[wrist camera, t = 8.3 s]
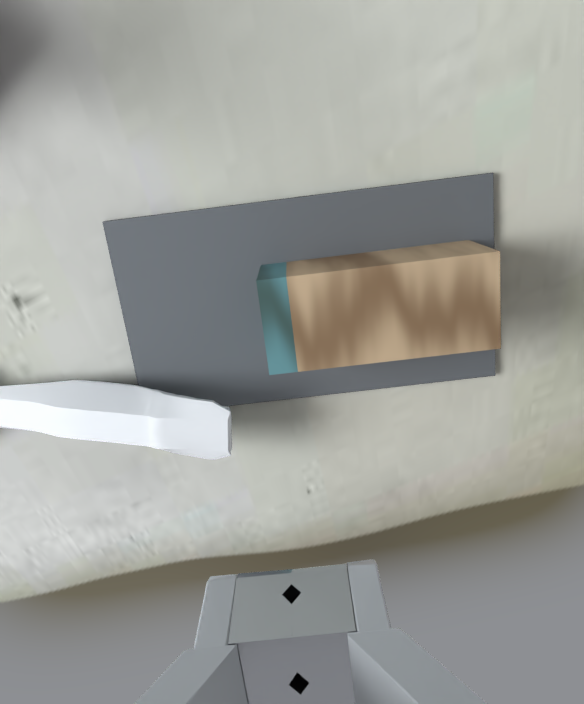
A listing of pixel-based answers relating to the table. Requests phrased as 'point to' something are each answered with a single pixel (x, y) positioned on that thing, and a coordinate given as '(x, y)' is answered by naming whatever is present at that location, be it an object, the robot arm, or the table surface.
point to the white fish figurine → (119, 416)
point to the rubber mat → (242, 295)
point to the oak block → (380, 306)
